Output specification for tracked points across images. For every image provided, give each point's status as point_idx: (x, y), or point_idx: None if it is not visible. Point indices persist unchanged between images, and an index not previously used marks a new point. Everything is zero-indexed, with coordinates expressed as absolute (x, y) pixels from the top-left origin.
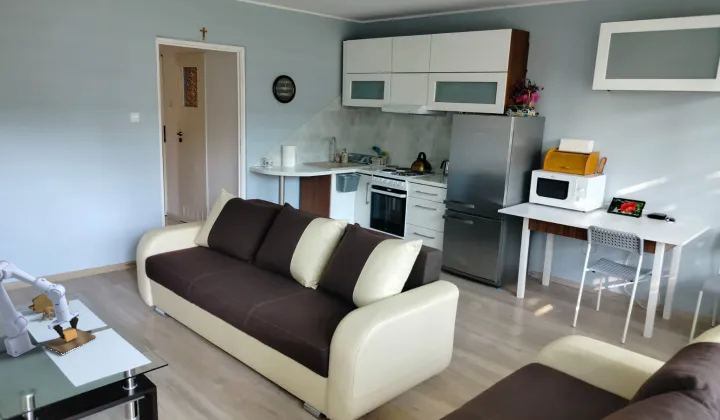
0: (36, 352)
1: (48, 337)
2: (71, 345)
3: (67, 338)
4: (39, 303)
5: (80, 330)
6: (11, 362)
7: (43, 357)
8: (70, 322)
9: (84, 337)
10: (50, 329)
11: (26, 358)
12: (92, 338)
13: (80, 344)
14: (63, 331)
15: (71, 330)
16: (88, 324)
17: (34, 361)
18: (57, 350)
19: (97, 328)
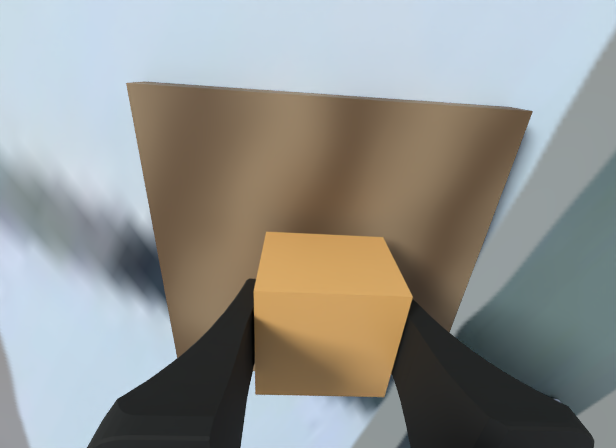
0: (490, 348)
1: (328, 423)
2: (390, 157)
3: (376, 255)
4: None
5: (177, 321)
6: (610, 374)
7: (549, 252)
8: (236, 446)
9: (224, 175)
10: None
11: (564, 341)
12: (177, 85)
13: (325, 96)
14: (357, 369)
15: (302, 310)
16: (90, 358)
17: (607, 263)
18: (493, 210)
19: (57, 249)
